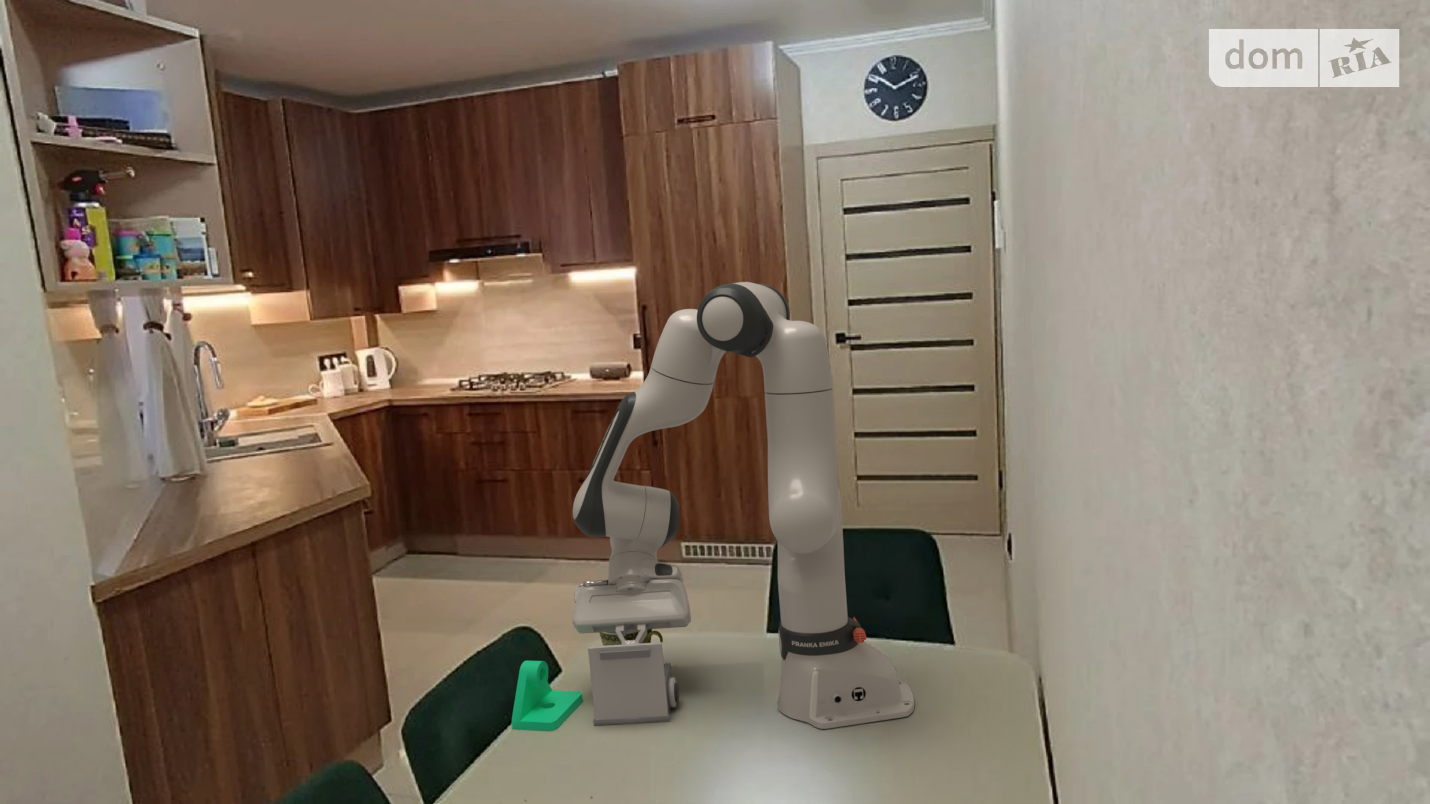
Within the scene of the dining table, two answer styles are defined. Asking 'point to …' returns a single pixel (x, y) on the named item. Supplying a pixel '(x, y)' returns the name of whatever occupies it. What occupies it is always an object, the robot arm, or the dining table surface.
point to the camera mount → (541, 700)
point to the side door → (628, 684)
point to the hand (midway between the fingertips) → (630, 652)
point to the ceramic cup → (626, 637)
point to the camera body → (671, 688)
